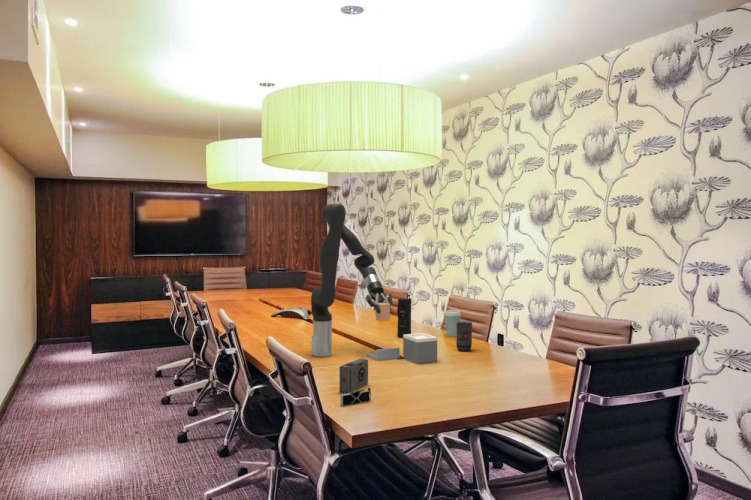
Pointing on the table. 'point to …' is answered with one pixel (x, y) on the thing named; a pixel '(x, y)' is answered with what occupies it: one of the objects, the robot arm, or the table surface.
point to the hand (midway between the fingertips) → (384, 312)
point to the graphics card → (355, 397)
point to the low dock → (385, 354)
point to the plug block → (383, 312)
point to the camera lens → (464, 336)
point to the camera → (353, 375)
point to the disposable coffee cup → (451, 321)
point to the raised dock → (420, 348)
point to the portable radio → (404, 316)
